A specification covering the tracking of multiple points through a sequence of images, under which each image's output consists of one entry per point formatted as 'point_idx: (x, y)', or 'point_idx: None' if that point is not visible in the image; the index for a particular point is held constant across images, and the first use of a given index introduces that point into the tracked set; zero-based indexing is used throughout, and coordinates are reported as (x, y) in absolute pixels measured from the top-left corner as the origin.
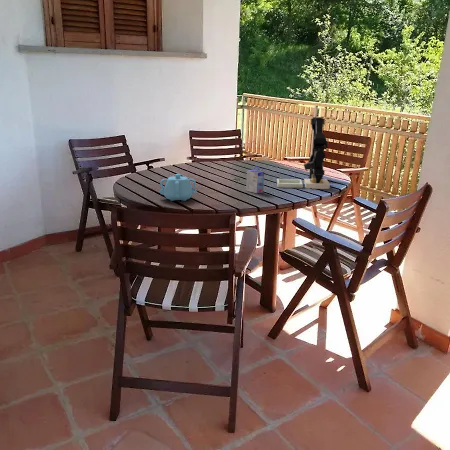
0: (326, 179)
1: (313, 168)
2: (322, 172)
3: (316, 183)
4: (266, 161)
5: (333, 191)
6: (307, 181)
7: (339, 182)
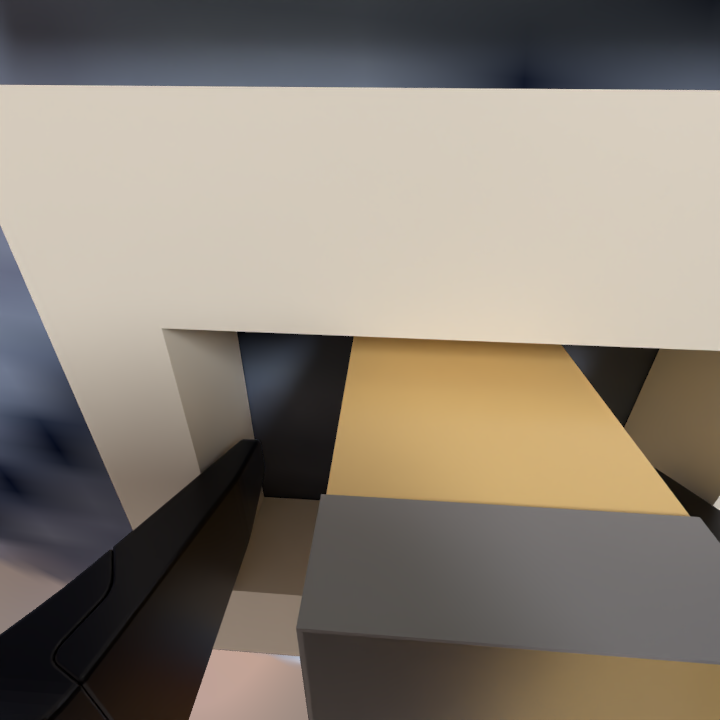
0: None
1: None
2: None
3: (141, 458)
4: None
5: (81, 567)
6: (415, 204)
7: None
